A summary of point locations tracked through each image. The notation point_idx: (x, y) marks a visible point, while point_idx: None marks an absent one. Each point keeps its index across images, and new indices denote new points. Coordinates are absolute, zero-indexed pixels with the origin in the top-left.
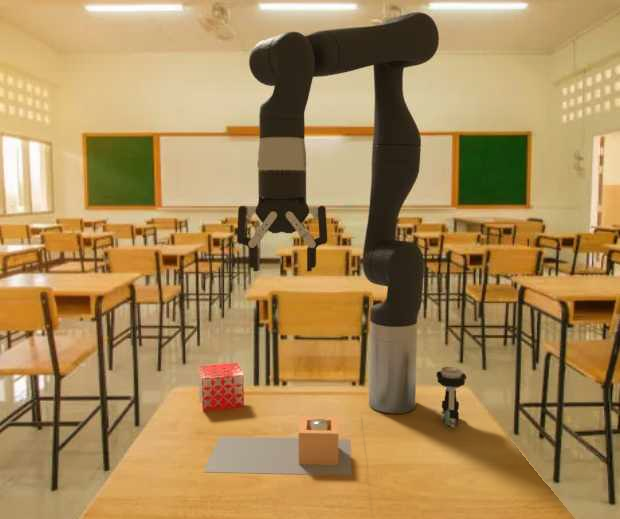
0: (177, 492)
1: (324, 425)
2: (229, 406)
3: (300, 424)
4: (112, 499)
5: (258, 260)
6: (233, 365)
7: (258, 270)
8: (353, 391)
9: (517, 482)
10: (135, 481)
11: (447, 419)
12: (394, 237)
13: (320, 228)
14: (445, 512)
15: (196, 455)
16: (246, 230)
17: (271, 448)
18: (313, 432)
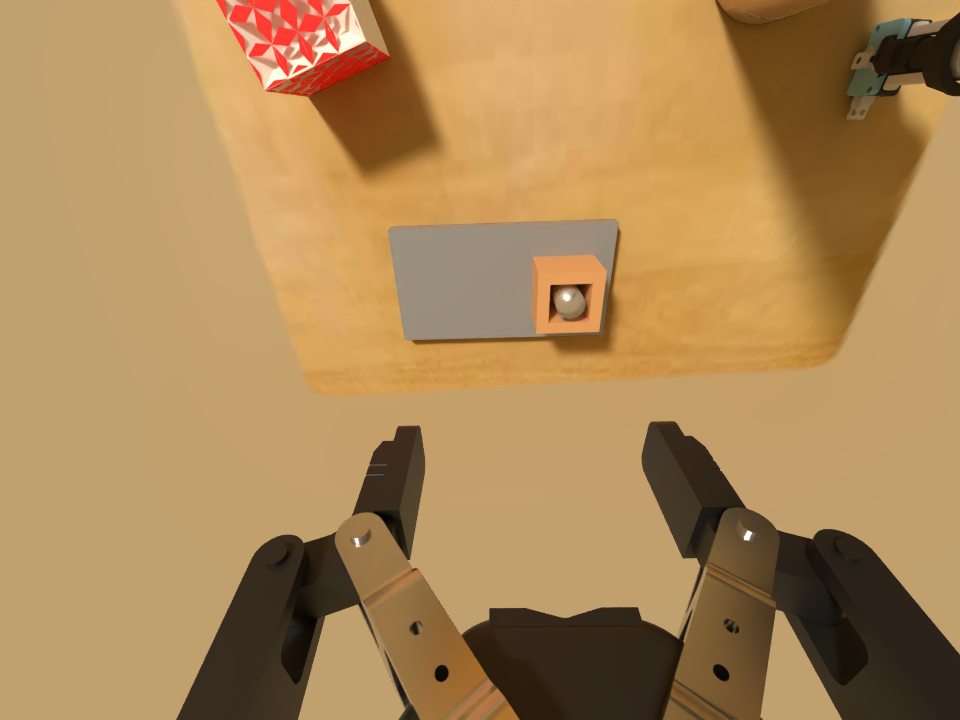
0: (385, 357)
1: (579, 314)
2: (354, 69)
3: (538, 303)
4: (318, 374)
5: (416, 481)
6: None
7: (422, 448)
8: None
9: (828, 307)
10: (321, 338)
11: (858, 95)
12: None
13: (842, 698)
14: (696, 373)
15: (368, 265)
16: (284, 630)
17: (485, 268)
18: (559, 330)
